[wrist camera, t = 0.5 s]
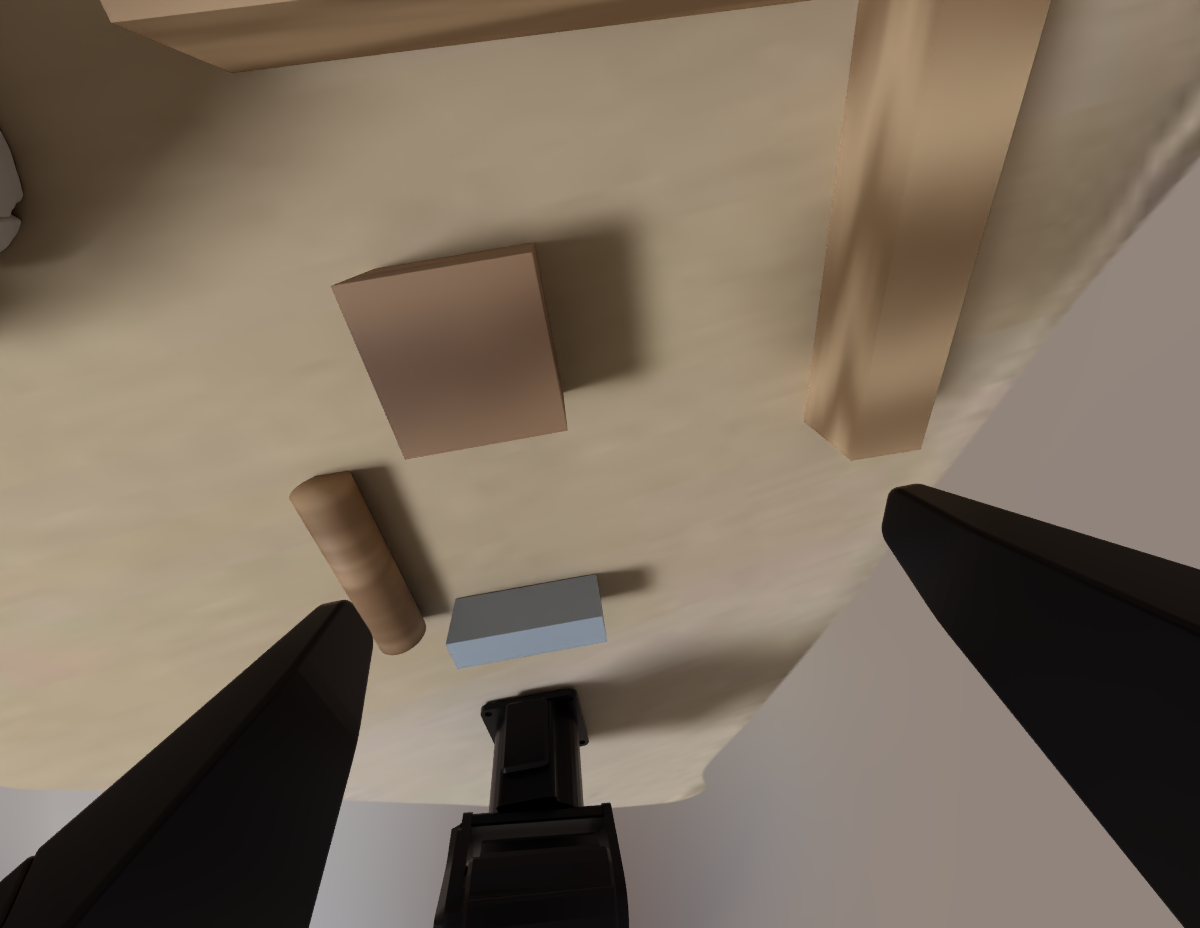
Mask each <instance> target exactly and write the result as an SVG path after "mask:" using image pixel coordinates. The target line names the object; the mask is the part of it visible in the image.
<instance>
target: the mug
mask: <svg viewBox="0 0 1200 928" xmlns="http://www.w3.org/2000/svg"><path fill="white" fill-rule="evenodd" d="M22 197H23V192H22V188H21V183H20V179H19V176H18V174H17V171H16V168H15V165H14V161H13V157H12V154H11V151H10V149H9V147H8V145H7V143H6V141H5V139H4V137H3V135H2V133H1V131H0V252H1V251H3V250H4V249H5V248H7V247H8V246H9V244H10V243H11V241H12V240H13V238H14V237H15V236H16V234H17V233H18V231H19V228H20V225H21V220H20V219H18V218H17V217H15V216H13V215H11V211H12V209H13V208H14V207H15V204H16V203H17V202H20V201H21V199H22Z"/></svg>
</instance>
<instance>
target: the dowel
mask: <svg viewBox="0 0 1200 928" xmlns="http://www.w3.org/2000/svg"><path fill="white" fill-rule="evenodd" d="M289 499H290V501H291V502H292V504H293V506H294V507H295V509H296V511H297V512H298V514H299V516H300V517H301V519H302V521H303V522H304V524H305V526H306V527H307V529H308V531H309V532H310V534H311V536H312V537H313V539H314V541H315V542H316V544H317V546H318V547H319V549H320V550H321V552H322V554H323V555H324V557H325V559H326V560H327V562H328V564H329V565H330V567H331V569H332V570H333V572H334V574H335V575H336V577H337V579H338V580H339V582H340V584H341V585H342V587H343V589H344V590H345V592H346V594H347V595H348V597H349V599H350V600H351V602H352V603H353V605H354V606H355V608H356V609H357V611H358V612H359V614H360V615H361V617H362V618H363V620H364V622H365V623H366V625H367V626H368V628H369V629H370V631H371V634H372V637H373V638H374V640H375V642H376V643H377V645H378V647H379V648H380V650H381V651H382V652H383V653H384V654H387V655H398V654H401V653H404V652H406V651H408V650H410V649H411V648H413V647H414V646H415V645H417V644H418V643H419V641H420V640H421V639H422V637H423V636H424V634H425V631H426V624H425V621H424V619H423V617H422V615H421V613H420V611H419V609H418V607H417V605H416V603H415V601H414V599H413V597H412V595H411V593H410V591H409V589H408V587H407V585H406V583H405V581H404V579H403V577H402V575H401V573H400V571H399V569H398V567H397V565H396V563H395V561H394V559H393V557H392V555H391V553H390V551H389V549H388V547H387V545H386V543H385V541H384V539H383V537H382V535H381V533H380V531H379V529H378V527H377V525H376V523H375V521H374V519H373V517H372V515H371V513H370V511H369V509H368V507H367V505H366V503H365V501H364V499H363V497H362V495H361V493H360V491H359V489H358V487H357V485H356V483H355V481H354V479H353V477H352V475H351V473H350V472H347V471H344V472H338V473H332V474H326V475H320V476H315V477H313V478H311V479H308V480H307V481H305V482H303V483H301V484H300V485H299V486H297V487H296V488H295V489H294V490H293V491H292V492H291V494H290V496H289Z"/></svg>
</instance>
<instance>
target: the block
mask: <svg viewBox="0 0 1200 928" xmlns="http://www.w3.org/2000/svg"><path fill="white" fill-rule="evenodd" d="M331 288H332V290H333V292H334V295H335V297H336V299H337V302H338V304H339V306H340V309H341V311H342V313H343V316H344V318H345V320H346V323H347V325H348V327H349V330H350V332H351V334H352V337H353V339H354V341H355V344H356V346H357V348H358V351H359V353H360V355H361V358H362V360H363V362H364V365H365V367H366V369H367V372H368V374H369V377H370V379H371V381H372V384H373V386H374V388H375V391H376V393H377V395H378V398H379V400H380V402H381V405H382V407H383V409H384V412H385V414H386V416H387V419H388V421H389V423H390V426H391V428H392V430H393V433H394V435H395V437H396V440H397V442H398V444H399V447H400V449H401V451H402V454H403V456H404V458H405V459H410V458H416V457H422V456H427V455H433V454H438V453H444V452H450V451H455V450H461V449H466V448H472V447H478V446H483V445H489V444H494V443H500V442H506V441H511V440H517V439H522V438H528V437H534V436H539V435H545V434H550V433H556V432H562V431H567V421H566V413H565V404H564V395H563V389H562V384H561V379H560V374H559V369H558V364H557V358H556V353H555V348H554V343H553V338H552V333H551V328H550V323H549V318H548V313H547V308H546V302H545V297H544V292H543V287H542V282H541V277H540V272H539V267H538V262H537V257H536V252H535V246H534V243H528V244H522V245H516V246H510V247H504V248H498V249H492V250H486V251H480V252H474V253H468V254H462V255H456V256H450V257H444V258H438V259H432V260H426V261H421V262H415V263H409V264H403V265H397V266H391V267H385V268H379V269H373V270H370V271H368V272H365V273H363V274H360V275H358V276H355V277H352V278H350V279H347V280H345V281H342V282H340V283H337V284H335V285H332V286H331Z"/></svg>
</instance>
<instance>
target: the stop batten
mask: <svg viewBox="0 0 1200 928" xmlns="http://www.w3.org/2000/svg"><path fill="white" fill-rule="evenodd" d="M602 642H607V638H606V631H605V624H604V618H603V611H602V604H601V598H600V592H599V587H598V582H597V576H596V574H594V575H588V576H583V577H577V578H572V579H566V580H560V581H555V582H549V583H543V584H538V585H532V586H527V587H521V588H515V589H510V590H504V591H499V592H493V593H487V594H482V595H476V596H471V597H465V598H459V599H456V600H455V604H454V609H453V614H452V618H451V623H450V627H449V632H448V637H447V641H446V646H447V648H448V650H449V652H450V654H451V657H452V659H453V661H454V663H455V665H456V667H457V669H459V668H465V667H470V666H476V665H481V664H487V663H492V662H498V661H503V660H509V659H514V658H520V657H525V656H531V655H536V654H541V653H547V652H552V651H558V650H563V649H569V648H574V647H580V646H585V645H591V644H596V643H602Z"/></svg>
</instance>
